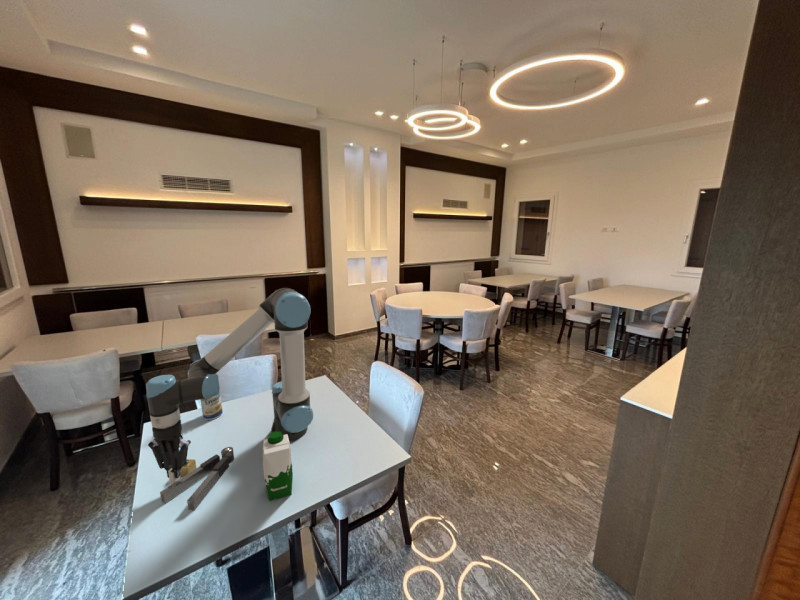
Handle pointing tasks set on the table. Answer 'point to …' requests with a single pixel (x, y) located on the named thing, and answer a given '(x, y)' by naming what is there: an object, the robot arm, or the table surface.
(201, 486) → the base
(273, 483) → the milk carton
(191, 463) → the block
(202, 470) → the tong arm
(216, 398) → the beverage bottle
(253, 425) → the table surface
